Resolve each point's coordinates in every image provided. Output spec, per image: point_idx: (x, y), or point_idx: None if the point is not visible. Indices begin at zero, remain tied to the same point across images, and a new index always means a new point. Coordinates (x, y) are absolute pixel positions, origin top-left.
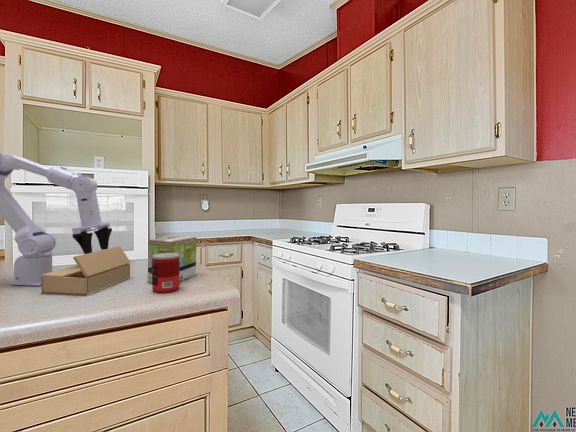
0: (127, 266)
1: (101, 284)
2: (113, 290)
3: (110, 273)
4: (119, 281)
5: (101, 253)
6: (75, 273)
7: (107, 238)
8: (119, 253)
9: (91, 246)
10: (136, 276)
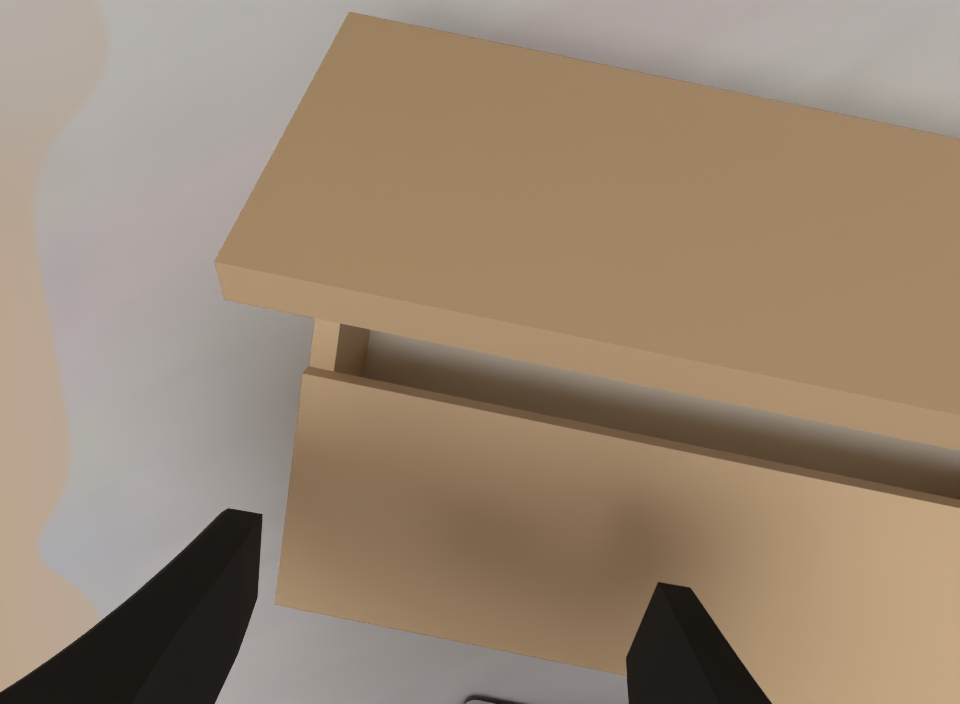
0: None
1: None
2: (955, 6)
3: None
4: None
5: (920, 350)
6: (936, 496)
7: (135, 668)
8: (431, 178)
9: (715, 683)
10: (304, 3)
